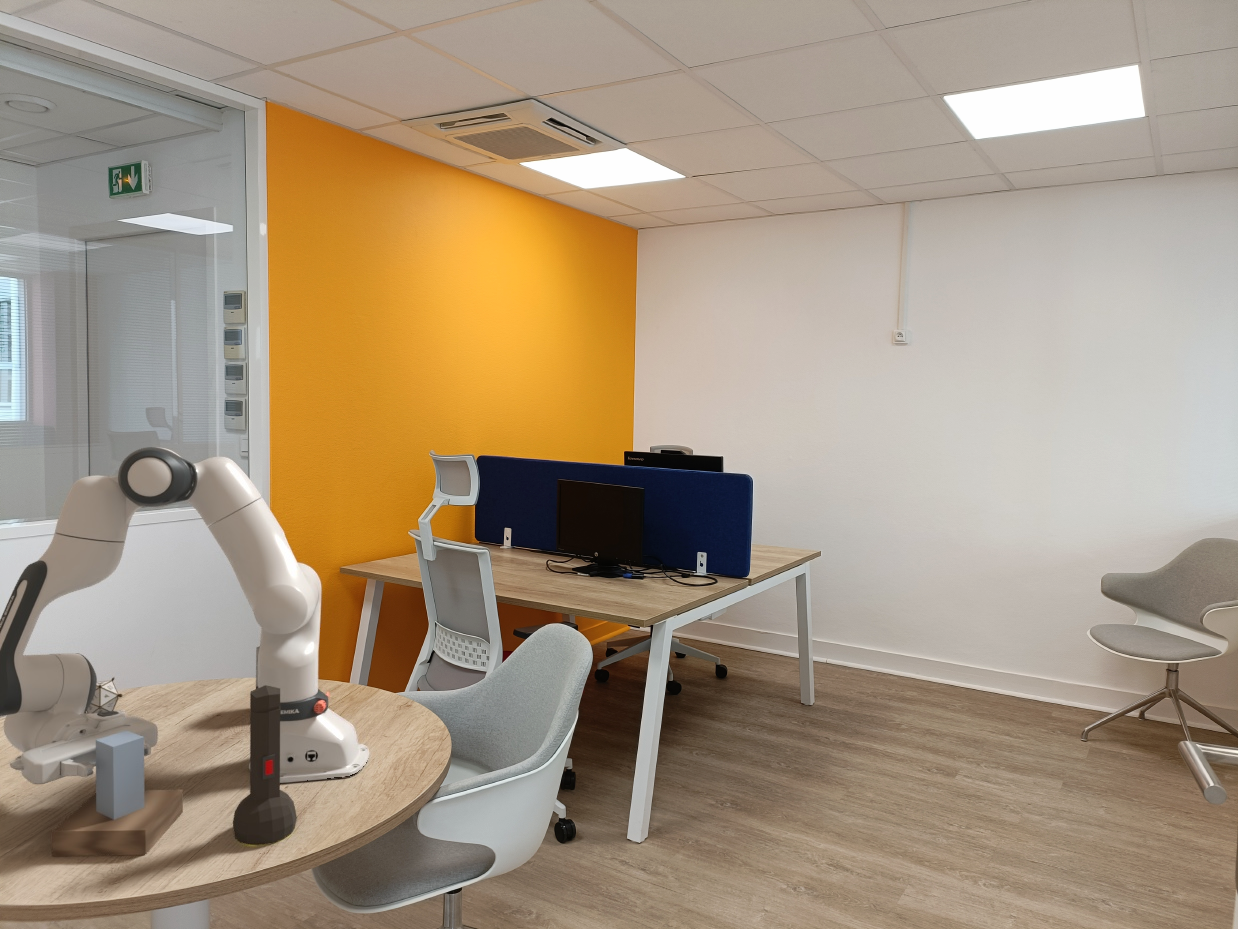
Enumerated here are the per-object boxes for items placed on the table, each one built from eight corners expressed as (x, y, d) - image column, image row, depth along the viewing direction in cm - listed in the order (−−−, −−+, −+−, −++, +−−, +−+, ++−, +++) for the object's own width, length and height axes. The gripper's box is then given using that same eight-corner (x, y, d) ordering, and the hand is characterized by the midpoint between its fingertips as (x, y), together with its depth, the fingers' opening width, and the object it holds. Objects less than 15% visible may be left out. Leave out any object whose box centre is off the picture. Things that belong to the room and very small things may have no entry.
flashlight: (226, 826, 144) (240, 853, 136) (226, 681, 142) (240, 699, 134) (287, 811, 150) (303, 836, 142) (288, 672, 148) (304, 688, 140)
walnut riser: (182, 812, 148) (182, 789, 148) (145, 854, 135) (145, 830, 134) (98, 813, 147) (97, 790, 147) (51, 856, 133) (51, 831, 133)
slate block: (126, 799, 144) (126, 730, 143) (144, 807, 142) (143, 737, 141) (96, 811, 140) (95, 740, 139) (113, 819, 137) (113, 747, 136)
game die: (105, 733, 190) (103, 707, 184) (69, 719, 190) (66, 692, 184) (132, 702, 197) (131, 676, 191) (97, 688, 197) (96, 662, 191)
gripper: (4, 744, 138) (50, 764, 131) (130, 707, 155) (176, 723, 149) (4, 782, 138) (50, 804, 131) (130, 740, 156) (176, 758, 149)
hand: (118, 761), depth 140 cm, fingers open, 8 cm apart
